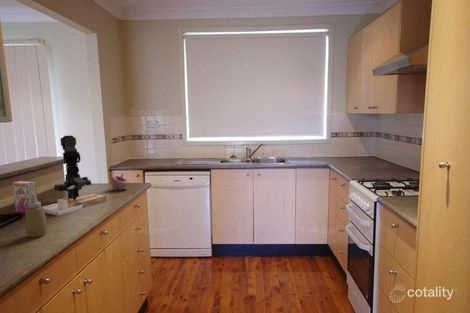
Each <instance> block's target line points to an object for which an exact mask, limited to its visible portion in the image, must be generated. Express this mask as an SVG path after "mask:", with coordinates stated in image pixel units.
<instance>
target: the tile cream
mask: <svg viewBox="0 0 470 313" xmlns="http://www.w3.org/2000/svg"><path fill="white" fill-rule="evenodd" d="M67 199H68V198H58V199H57V203H58V208H59V209H63V210H64V209H68V201H67Z"/></svg>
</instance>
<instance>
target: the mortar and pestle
mask: <svg viewBox="0 0 470 313" xmlns="http://www.w3.org/2000/svg"><path fill="white" fill-rule="evenodd" d="M110 185H111V188H113V189H114V190H116V191H123V190H125V189H127V187H128V186H129V185H130V179H128V178H127V177H125V176H124V174H123V173H121V175H120V174H114V175H113V174H112V176H111V178H110Z"/></svg>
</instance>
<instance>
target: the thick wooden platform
mask: <svg viewBox="0 0 470 313" xmlns="http://www.w3.org/2000/svg"><path fill="white" fill-rule="evenodd" d="M66 199H67V201H75V202H76V206H79V205H82V209H84V208H87V207H90V206H96V205H98V204H101V203H105V202H107V195H103V194H96V193H87V194H84V195H79V197H76V200H73V198H71V199H68V198H66Z"/></svg>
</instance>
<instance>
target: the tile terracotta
mask: <svg viewBox="0 0 470 313" xmlns="http://www.w3.org/2000/svg"><path fill="white" fill-rule="evenodd" d="M75 206H76V202H75V201H68V208H71V207H75Z"/></svg>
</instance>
